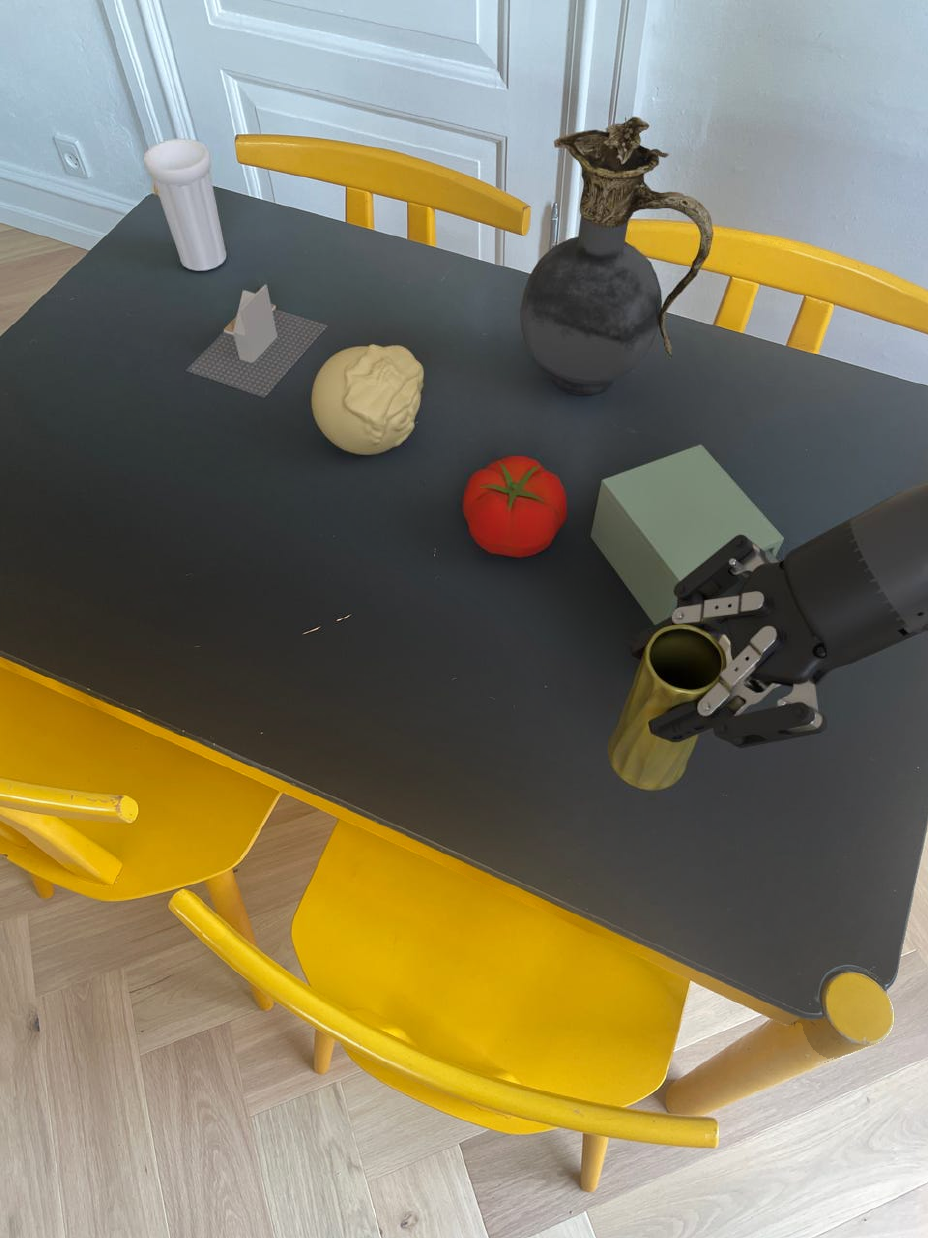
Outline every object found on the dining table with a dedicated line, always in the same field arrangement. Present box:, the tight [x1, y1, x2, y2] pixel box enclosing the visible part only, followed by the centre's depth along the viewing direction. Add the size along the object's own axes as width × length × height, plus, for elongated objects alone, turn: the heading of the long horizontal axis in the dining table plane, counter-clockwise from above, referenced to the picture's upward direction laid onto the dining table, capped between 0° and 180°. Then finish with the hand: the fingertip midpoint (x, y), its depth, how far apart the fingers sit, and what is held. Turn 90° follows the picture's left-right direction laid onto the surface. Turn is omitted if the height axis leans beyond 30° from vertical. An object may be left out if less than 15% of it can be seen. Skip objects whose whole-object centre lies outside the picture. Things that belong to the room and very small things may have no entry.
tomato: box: [462, 455, 568, 559], centre depth 88 cm, size 11×11×8 cm
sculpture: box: [311, 343, 425, 456], centre depth 94 cm, size 12×12×11 cm
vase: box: [607, 624, 727, 791], centre depth 61 cm, size 6×6×14 cm
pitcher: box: [519, 116, 714, 397], centre depth 92 cm, size 11×19×30 cm, turn 65°
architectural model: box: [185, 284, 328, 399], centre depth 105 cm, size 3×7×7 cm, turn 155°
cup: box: [143, 138, 227, 272], centre depth 112 cm, size 8×8×14 cm
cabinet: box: [590, 444, 785, 626], centre depth 85 cm, size 14×12×9 cm
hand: (647, 692), depth 58 cm, fingers closed on vase, 5 cm apart
